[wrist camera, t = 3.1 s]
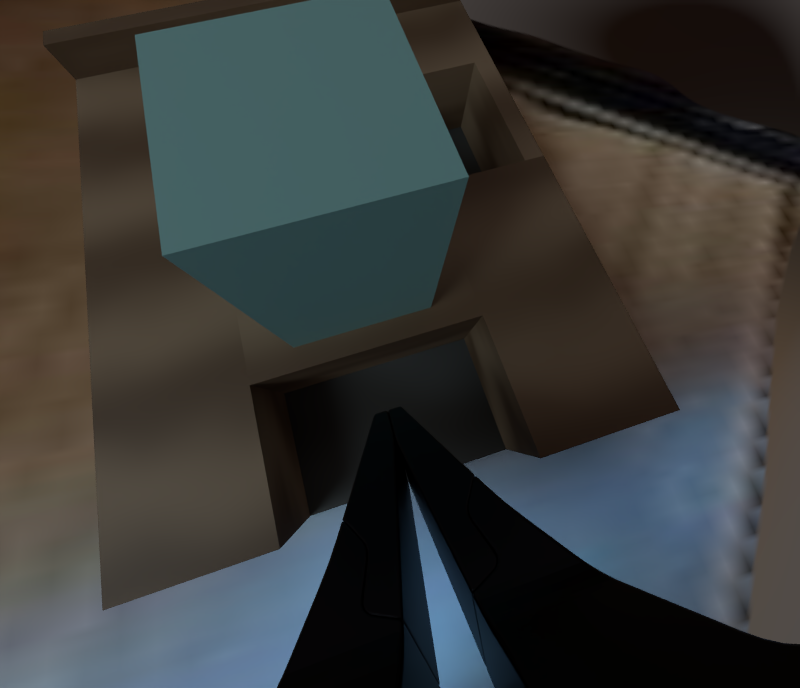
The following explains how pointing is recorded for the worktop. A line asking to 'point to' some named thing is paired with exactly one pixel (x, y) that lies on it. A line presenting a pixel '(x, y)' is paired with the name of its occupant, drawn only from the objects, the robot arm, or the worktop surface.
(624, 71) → the worktop surface
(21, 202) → the worktop surface
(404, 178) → the teal block
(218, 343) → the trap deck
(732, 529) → the worktop surface
